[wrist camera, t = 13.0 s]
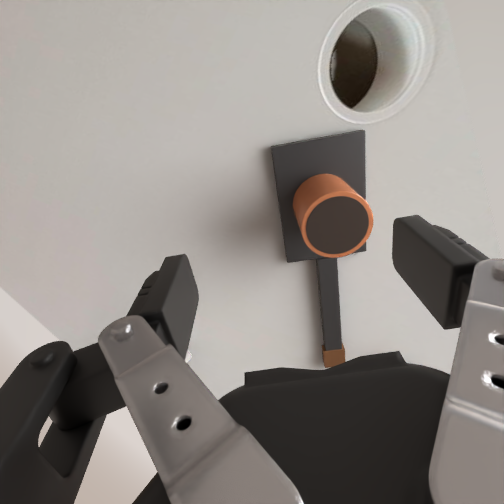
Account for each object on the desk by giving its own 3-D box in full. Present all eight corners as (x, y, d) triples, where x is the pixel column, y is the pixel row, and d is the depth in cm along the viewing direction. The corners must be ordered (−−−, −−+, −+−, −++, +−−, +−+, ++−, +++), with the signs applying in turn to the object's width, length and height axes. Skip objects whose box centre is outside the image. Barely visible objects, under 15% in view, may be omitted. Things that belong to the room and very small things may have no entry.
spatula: (271, 146, 31) (271, 148, 30) (362, 129, 30) (367, 131, 29) (301, 363, 44) (302, 370, 43) (365, 355, 43) (368, 362, 42)
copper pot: (289, 179, 31) (297, 198, 26) (351, 168, 31) (373, 185, 25) (295, 234, 34) (305, 262, 28) (352, 225, 34) (373, 252, 28)
